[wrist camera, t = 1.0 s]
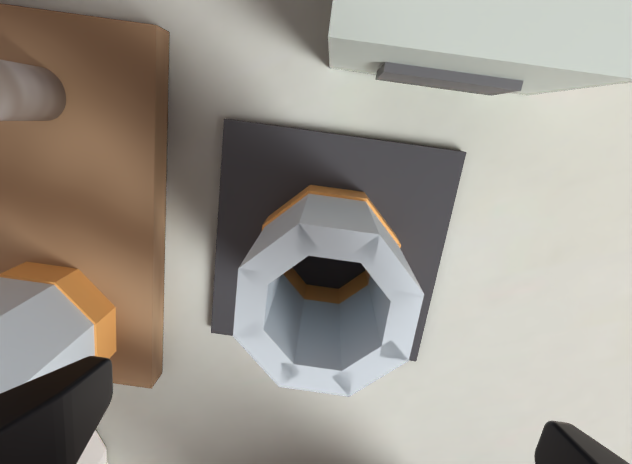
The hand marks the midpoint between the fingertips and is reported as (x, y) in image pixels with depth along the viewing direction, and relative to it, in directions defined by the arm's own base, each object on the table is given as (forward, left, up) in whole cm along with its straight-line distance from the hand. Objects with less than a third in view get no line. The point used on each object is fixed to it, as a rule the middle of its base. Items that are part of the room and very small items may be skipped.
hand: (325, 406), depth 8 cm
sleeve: (0, 0, -10) cm, 10 cm away
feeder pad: (0, 0, -10) cm, 10 cm away
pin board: (0, +12, -10) cm, 16 cm away
